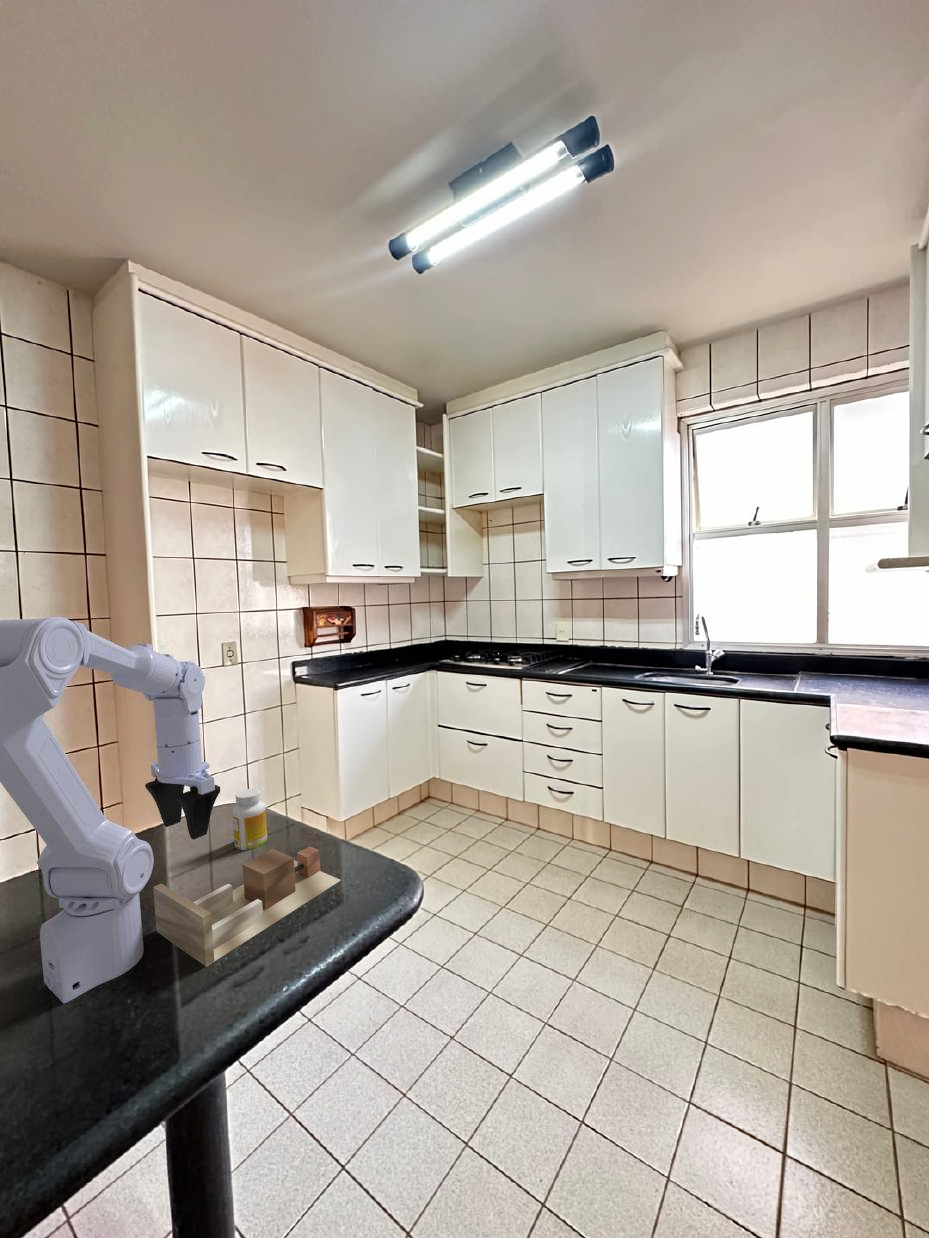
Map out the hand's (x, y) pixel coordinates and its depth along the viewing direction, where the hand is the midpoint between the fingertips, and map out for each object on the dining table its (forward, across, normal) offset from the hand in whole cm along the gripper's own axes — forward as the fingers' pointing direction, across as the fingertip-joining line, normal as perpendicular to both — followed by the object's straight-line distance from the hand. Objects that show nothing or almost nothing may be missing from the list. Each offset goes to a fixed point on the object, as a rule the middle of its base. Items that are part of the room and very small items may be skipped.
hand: (185, 830), depth 78 cm
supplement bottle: (+10, +4, -13) cm, 17 cm away
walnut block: (+9, -13, -8) cm, 17 cm away
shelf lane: (+9, -13, -2) cm, 16 cm away
